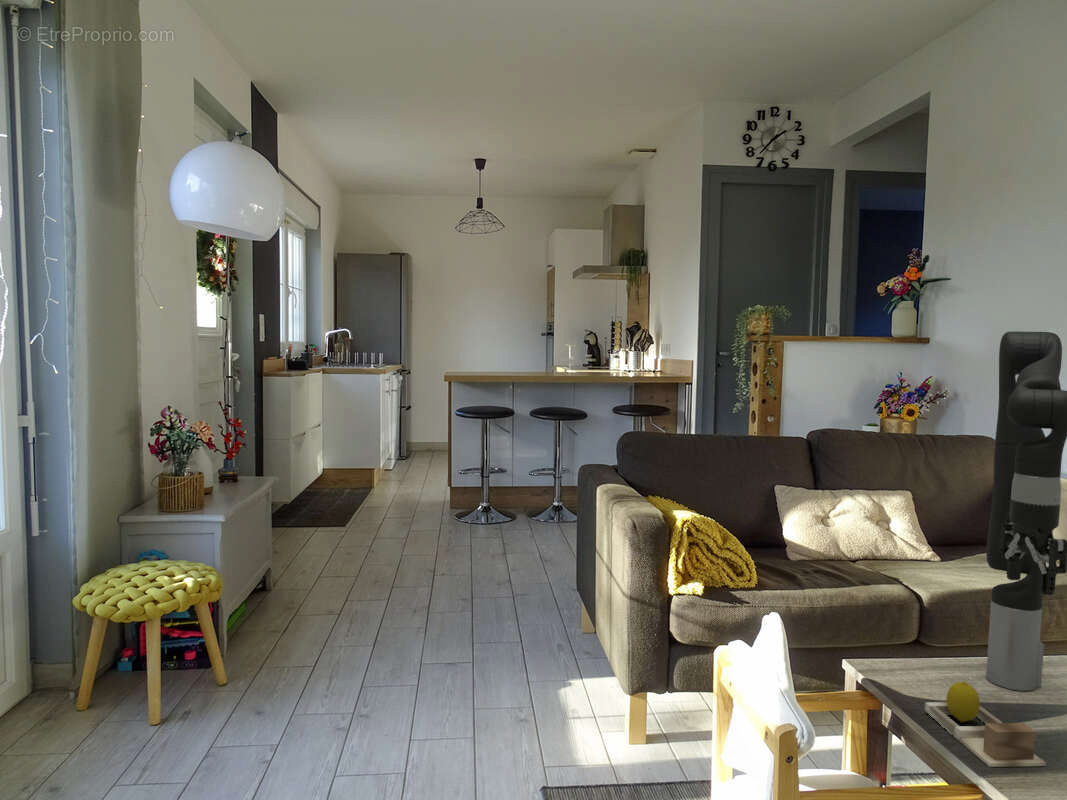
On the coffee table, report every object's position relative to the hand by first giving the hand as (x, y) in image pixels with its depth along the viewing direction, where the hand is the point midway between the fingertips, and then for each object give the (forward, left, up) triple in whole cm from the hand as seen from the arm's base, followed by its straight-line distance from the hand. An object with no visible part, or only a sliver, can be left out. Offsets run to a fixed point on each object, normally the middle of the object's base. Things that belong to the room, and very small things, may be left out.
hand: (1029, 586), depth 141 cm
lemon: (+8, -5, -28) cm, 30 cm away
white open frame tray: (+8, +2, -28) cm, 29 cm away
